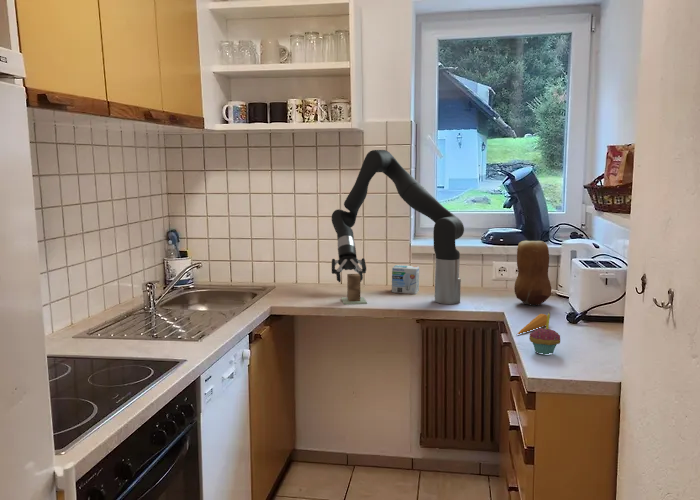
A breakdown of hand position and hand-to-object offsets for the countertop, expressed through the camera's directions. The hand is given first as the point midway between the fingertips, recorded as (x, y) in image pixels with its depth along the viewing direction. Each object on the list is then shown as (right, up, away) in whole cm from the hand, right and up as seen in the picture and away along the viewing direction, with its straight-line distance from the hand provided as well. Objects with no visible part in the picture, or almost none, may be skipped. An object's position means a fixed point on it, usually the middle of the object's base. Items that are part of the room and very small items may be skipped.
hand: (350, 280), depth 241 cm
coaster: (+1, -8, -8) cm, 11 cm away
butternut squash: (+70, -9, -14) cm, 72 cm away
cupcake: (+56, -17, -72) cm, 92 cm away
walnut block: (+1, -7, -8) cm, 11 cm away
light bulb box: (+23, -5, +9) cm, 26 cm away
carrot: (+58, -14, -48) cm, 77 cm away
